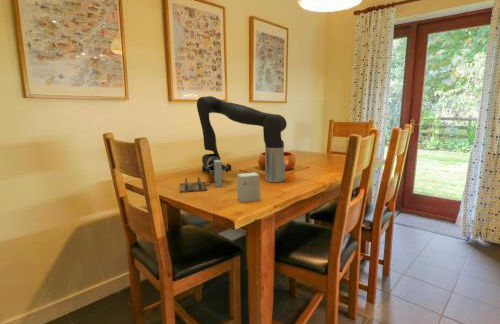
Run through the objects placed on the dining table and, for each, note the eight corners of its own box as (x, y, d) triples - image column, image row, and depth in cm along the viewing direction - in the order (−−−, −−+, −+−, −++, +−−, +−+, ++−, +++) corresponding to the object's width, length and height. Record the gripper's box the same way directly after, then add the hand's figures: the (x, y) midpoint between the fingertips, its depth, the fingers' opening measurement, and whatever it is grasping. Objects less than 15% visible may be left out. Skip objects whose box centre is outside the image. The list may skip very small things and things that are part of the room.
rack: (204, 183, 144) (204, 176, 144) (207, 190, 131) (207, 183, 130) (180, 185, 142) (179, 178, 141) (180, 192, 128) (179, 185, 127)
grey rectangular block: (220, 183, 143) (219, 159, 141) (222, 186, 137) (221, 161, 135) (214, 184, 142) (213, 160, 140) (216, 187, 137) (215, 162, 134)
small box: (255, 196, 121) (255, 172, 119) (260, 200, 115) (260, 174, 114) (237, 198, 118) (236, 173, 116) (241, 202, 113) (240, 176, 111)
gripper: (200, 158, 151) (202, 163, 135) (227, 157, 154) (232, 162, 138) (201, 172, 152) (203, 179, 136) (228, 170, 155) (233, 177, 140)
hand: (218, 170), depth 137 cm, fingers open, 8 cm apart
